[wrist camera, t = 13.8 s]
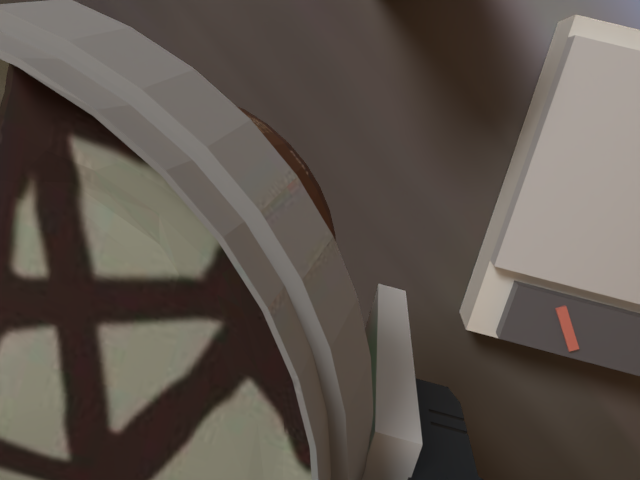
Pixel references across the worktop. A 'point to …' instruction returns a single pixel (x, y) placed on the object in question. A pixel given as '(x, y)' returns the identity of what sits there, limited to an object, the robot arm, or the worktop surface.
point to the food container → (162, 274)
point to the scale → (570, 208)
